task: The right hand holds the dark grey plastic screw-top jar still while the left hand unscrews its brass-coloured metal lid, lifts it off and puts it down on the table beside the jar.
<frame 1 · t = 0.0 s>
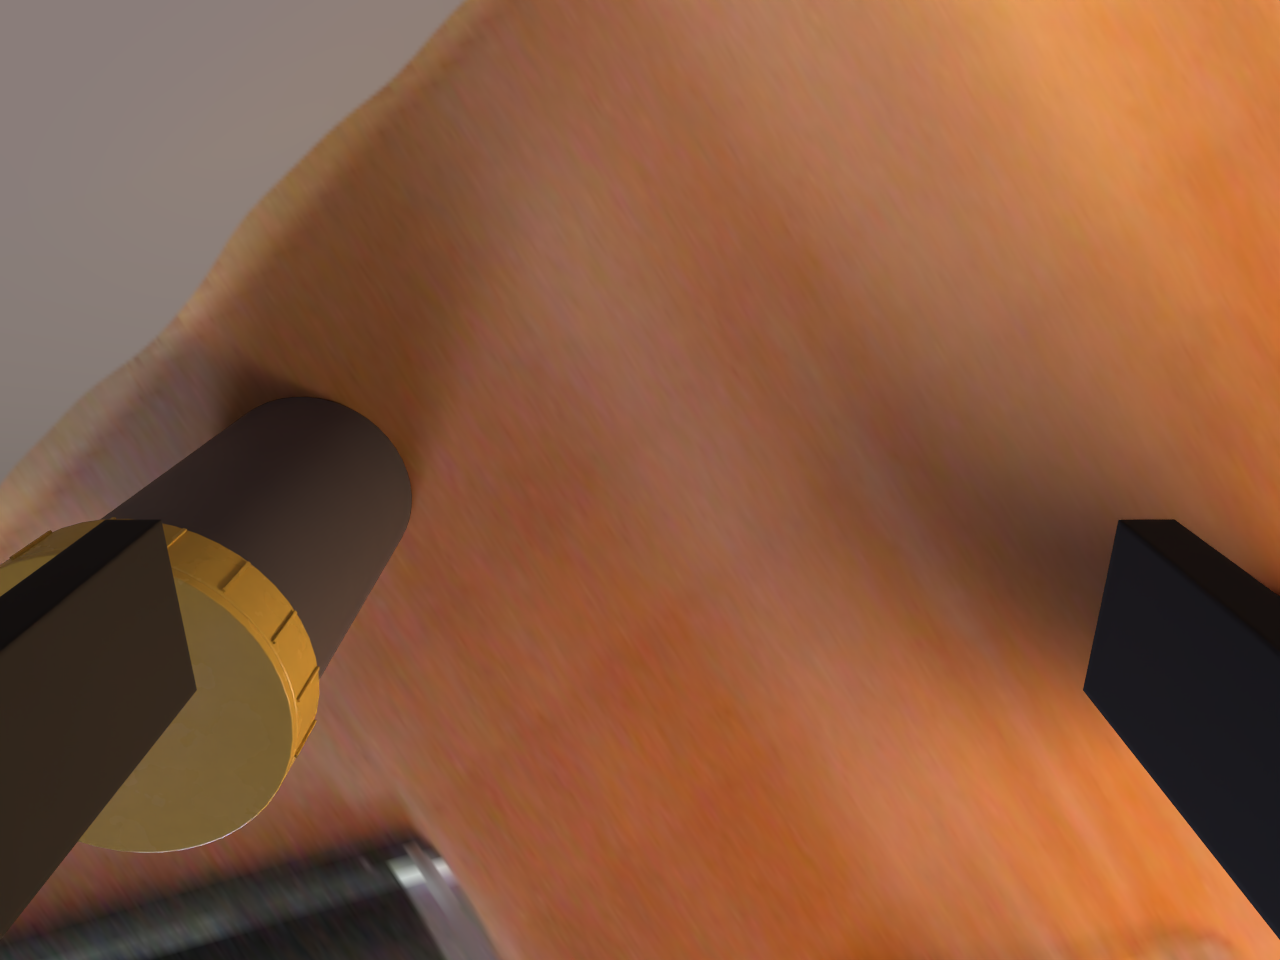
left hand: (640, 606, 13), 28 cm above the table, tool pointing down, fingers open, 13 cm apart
screw-top jar: (314, 490, 42), on the table
lid: (120, 706, 26), point 17 cm above the table, screwed on, not yet turned
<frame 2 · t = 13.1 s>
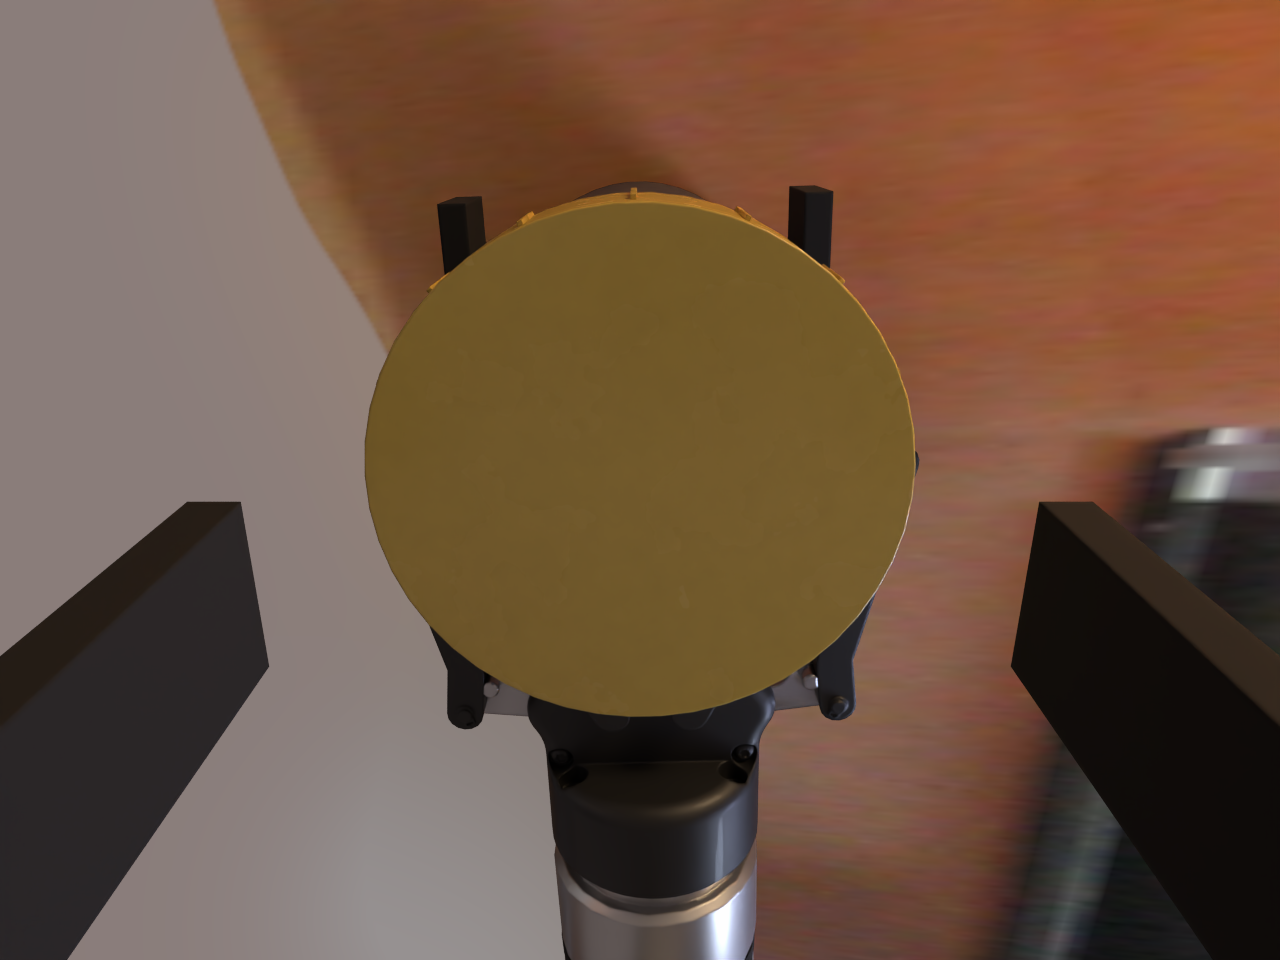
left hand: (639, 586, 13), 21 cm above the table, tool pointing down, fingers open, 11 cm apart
screw-top jar: (640, 312, 33), on the table, touching right hand
lid: (639, 480, 17), point 17 cm above the table, screwed on, not yet turned
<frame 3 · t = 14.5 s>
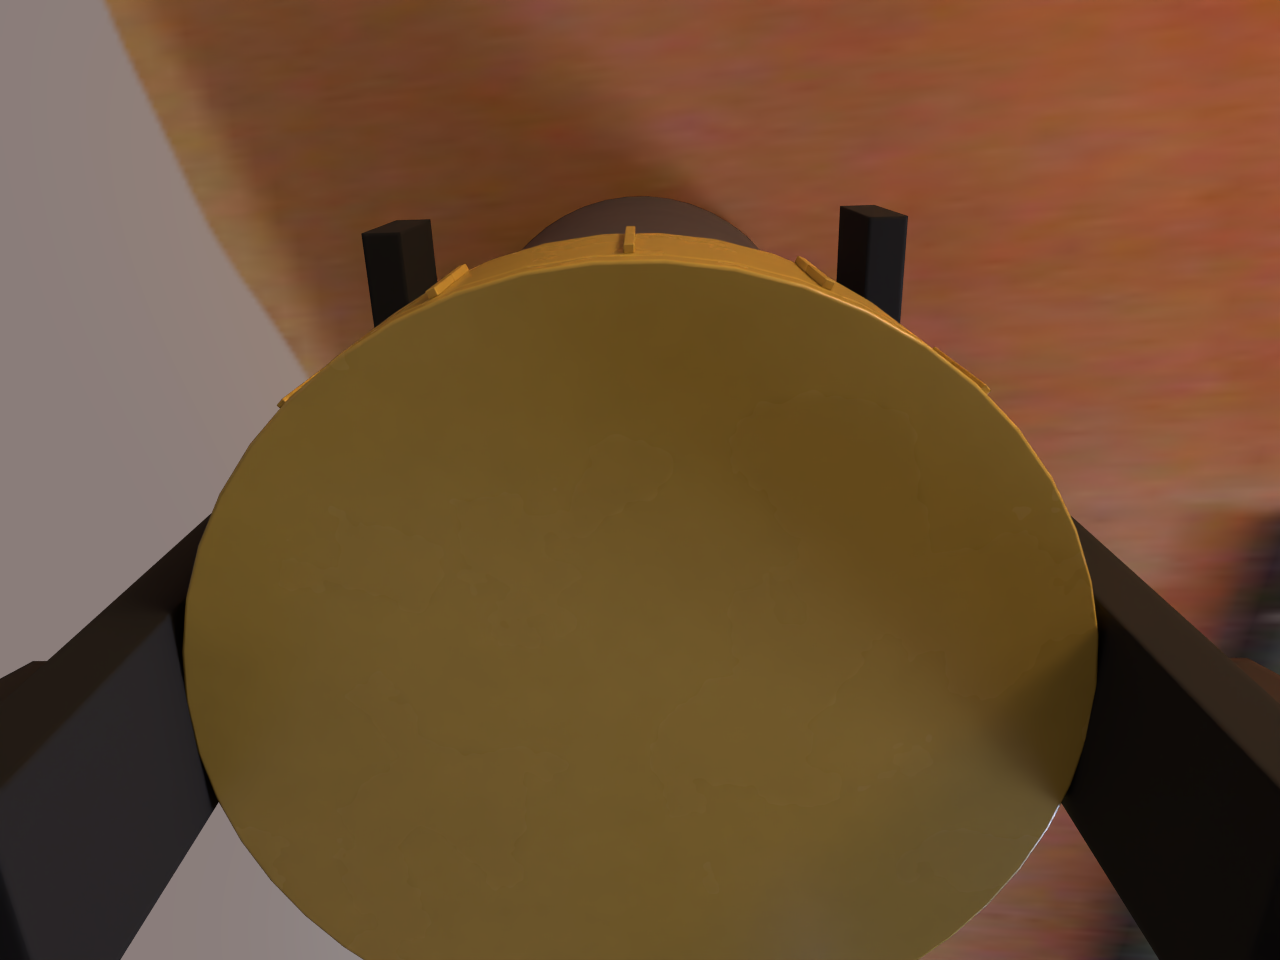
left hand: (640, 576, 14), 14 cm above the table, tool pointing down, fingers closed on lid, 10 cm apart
screw-top jar: (641, 359, 26), on the table, touching right hand
lid: (640, 702, 11), point 17 cm above the table, screwed on, not yet turned, touching left hand
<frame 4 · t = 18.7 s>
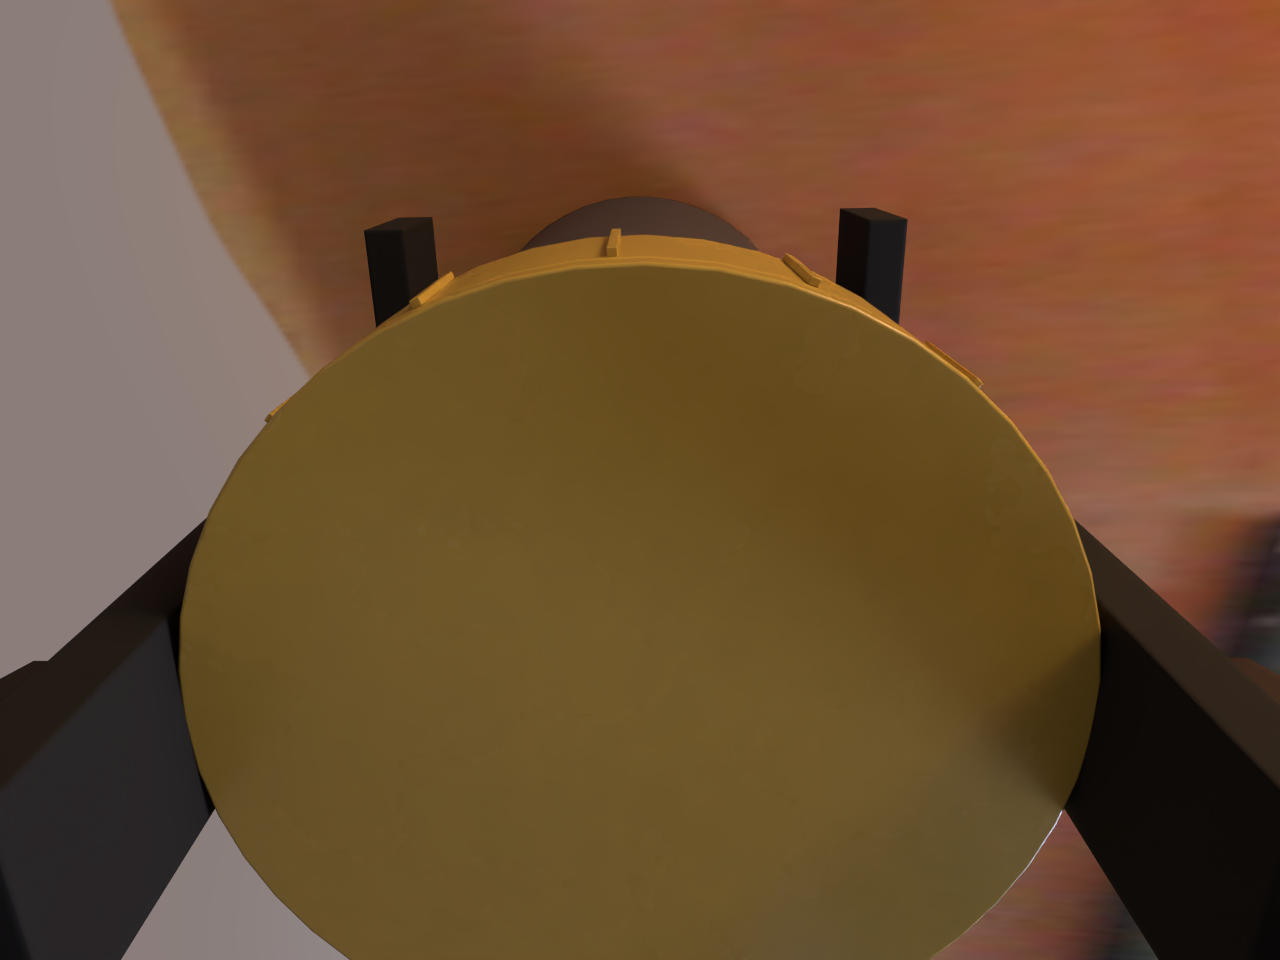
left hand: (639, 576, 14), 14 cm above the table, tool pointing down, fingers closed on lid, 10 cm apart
screw-top jar: (639, 358, 26), on the table, touching right hand
lid: (639, 708, 11), point 17 cm above the table, turned 137° so far, risen 0.2 cm, still on its thread, touching left hand
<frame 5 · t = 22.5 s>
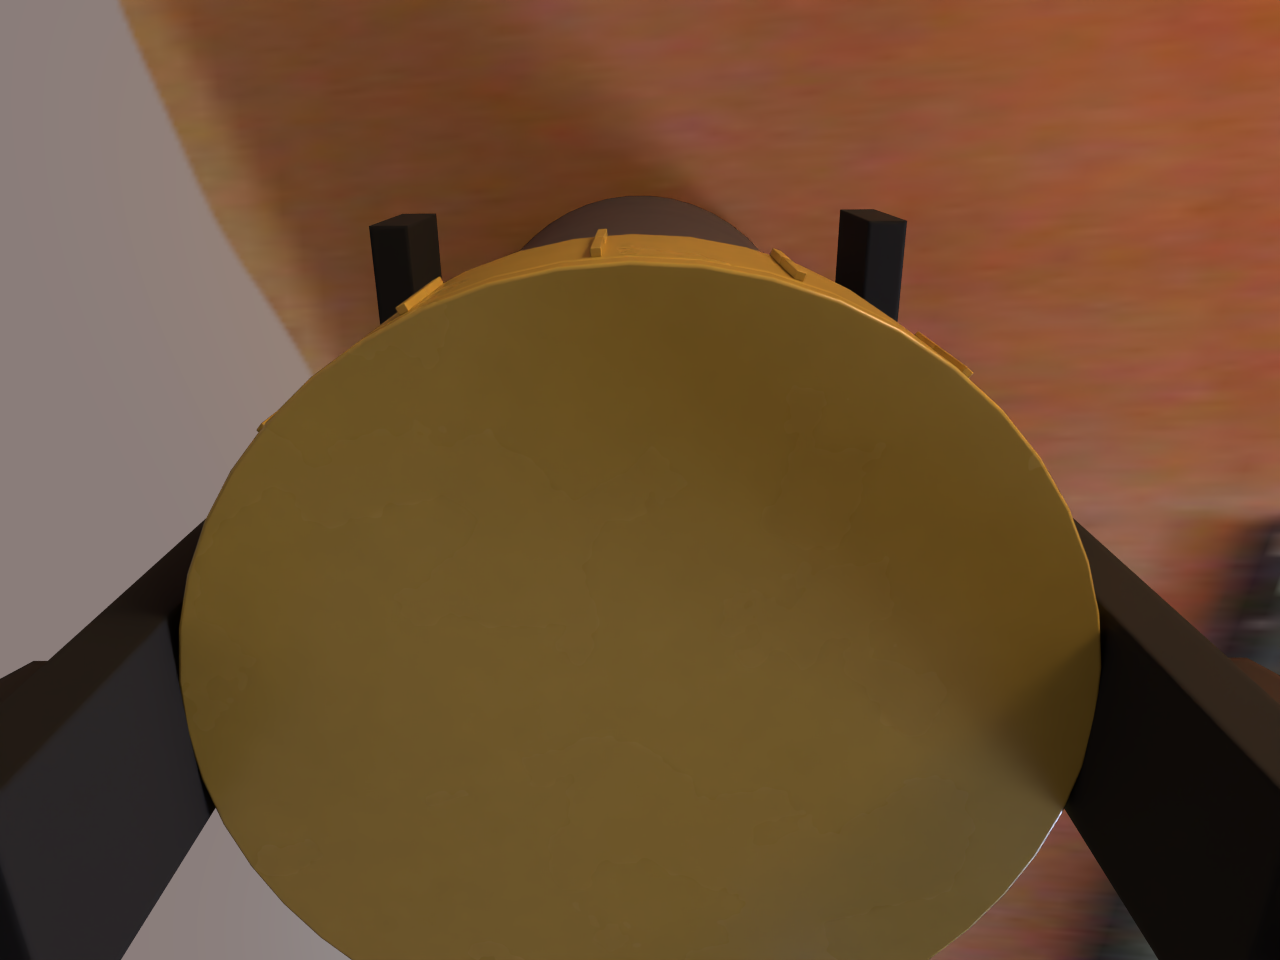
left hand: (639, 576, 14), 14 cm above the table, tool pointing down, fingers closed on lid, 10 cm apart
screw-top jar: (639, 356, 27), on the table, touching right hand
lid: (639, 707, 11), point 17 cm above the table, turned 275° so far, risen 0.4 cm, still on its thread, touching left hand
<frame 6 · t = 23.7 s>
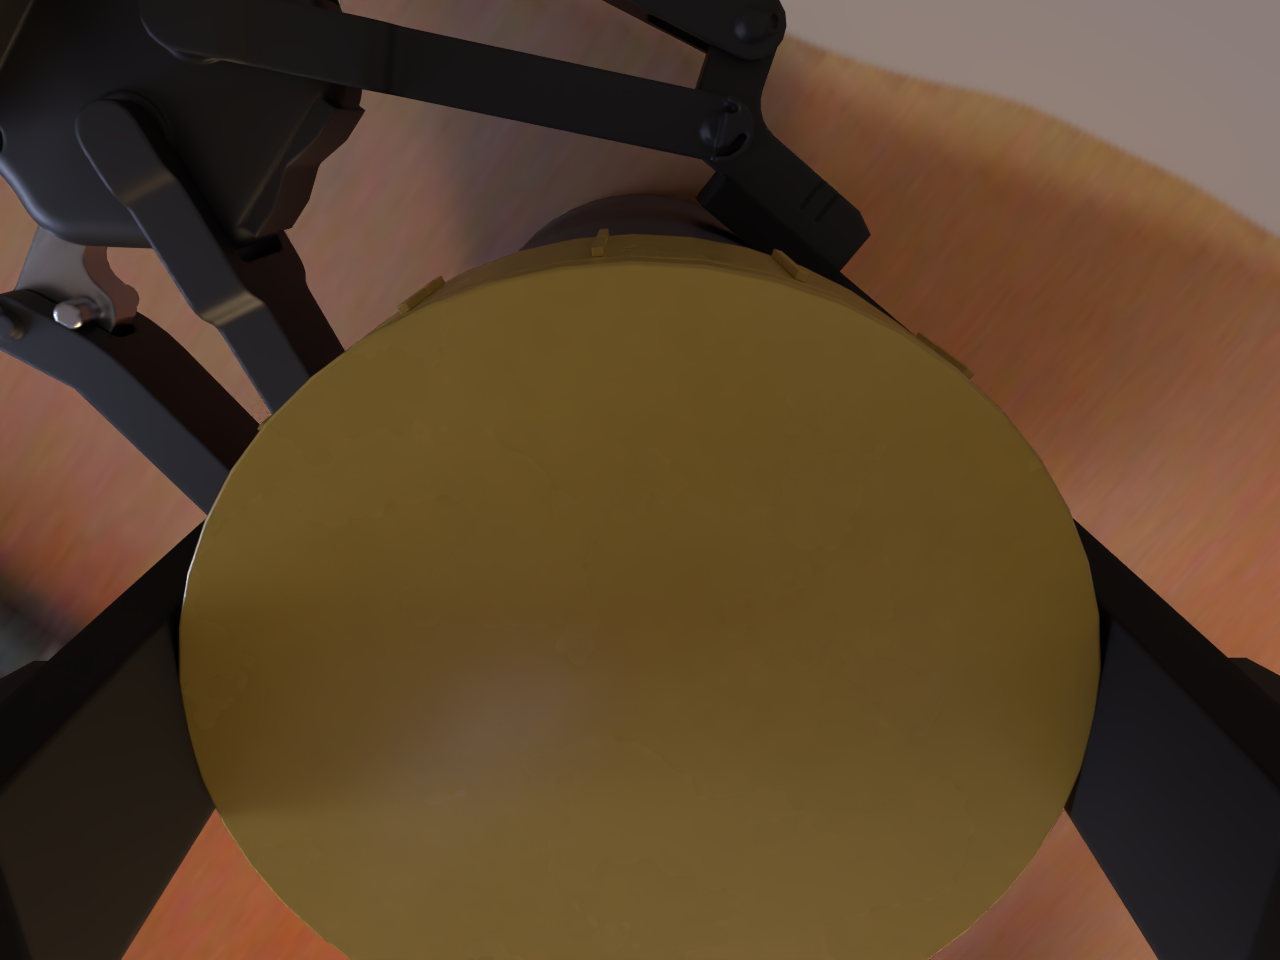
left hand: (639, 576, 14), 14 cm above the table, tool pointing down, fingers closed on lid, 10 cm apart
right hand: (786, 530, 22), fingers closed on screw-top jar, 9 cm apart
screw-top jar: (639, 354, 27), on the table, touching right hand
lid: (639, 707, 11), point 17 cm above the table, off its thread, touching left hand
when the left hand's fingers open (0 cm above the table, at t = 29.7 s): lid drops 2 cm, point 2 cm above the table.
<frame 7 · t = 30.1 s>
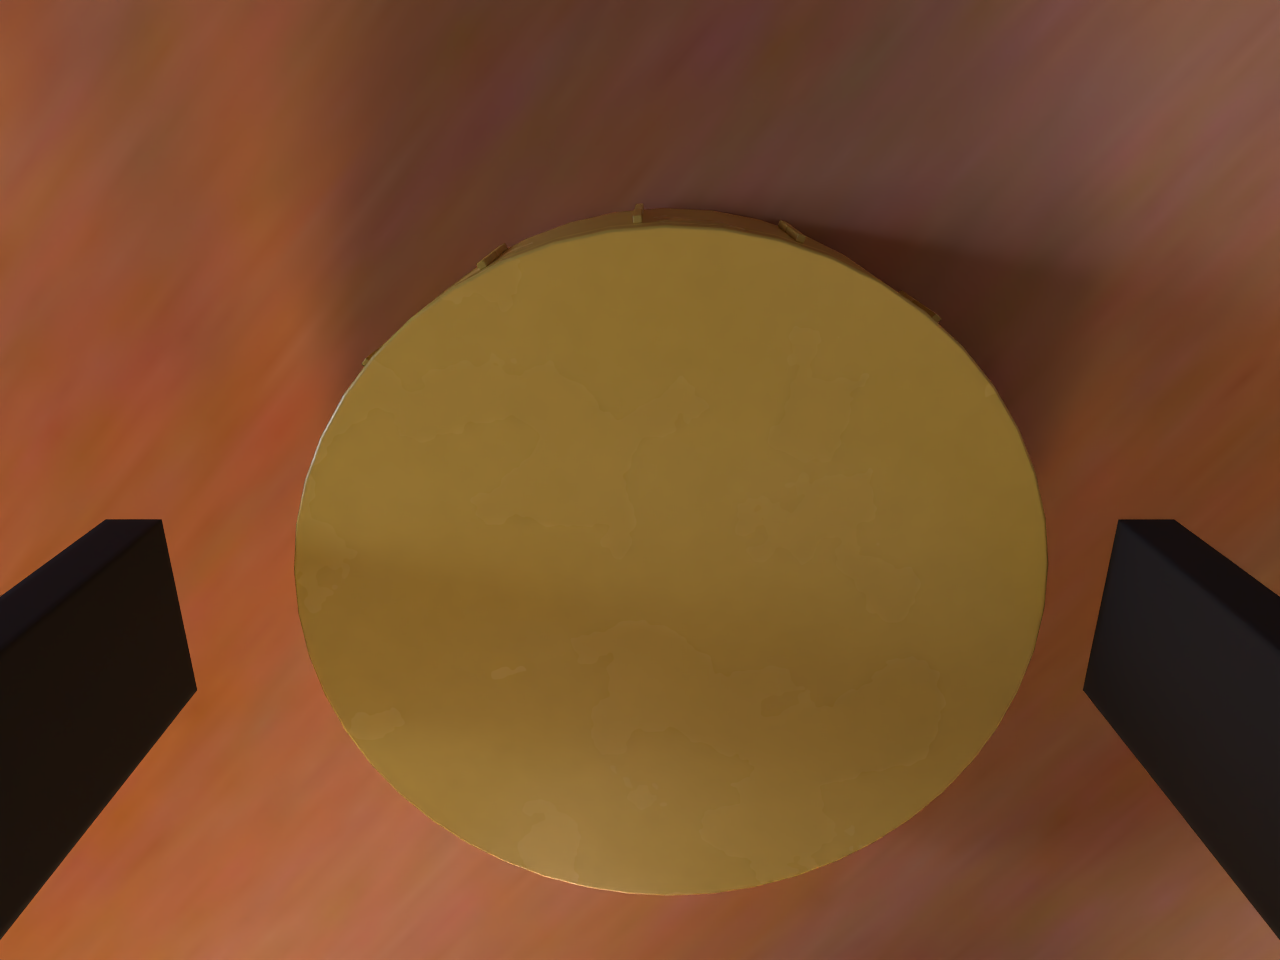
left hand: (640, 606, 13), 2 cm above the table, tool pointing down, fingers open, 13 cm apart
lid: (667, 599, 13), point 2 cm above the table, off its thread
when the right hand's fingers open (6 cm above the table, at t = 30.7 s): screw-top jar stays where it is, on the table.
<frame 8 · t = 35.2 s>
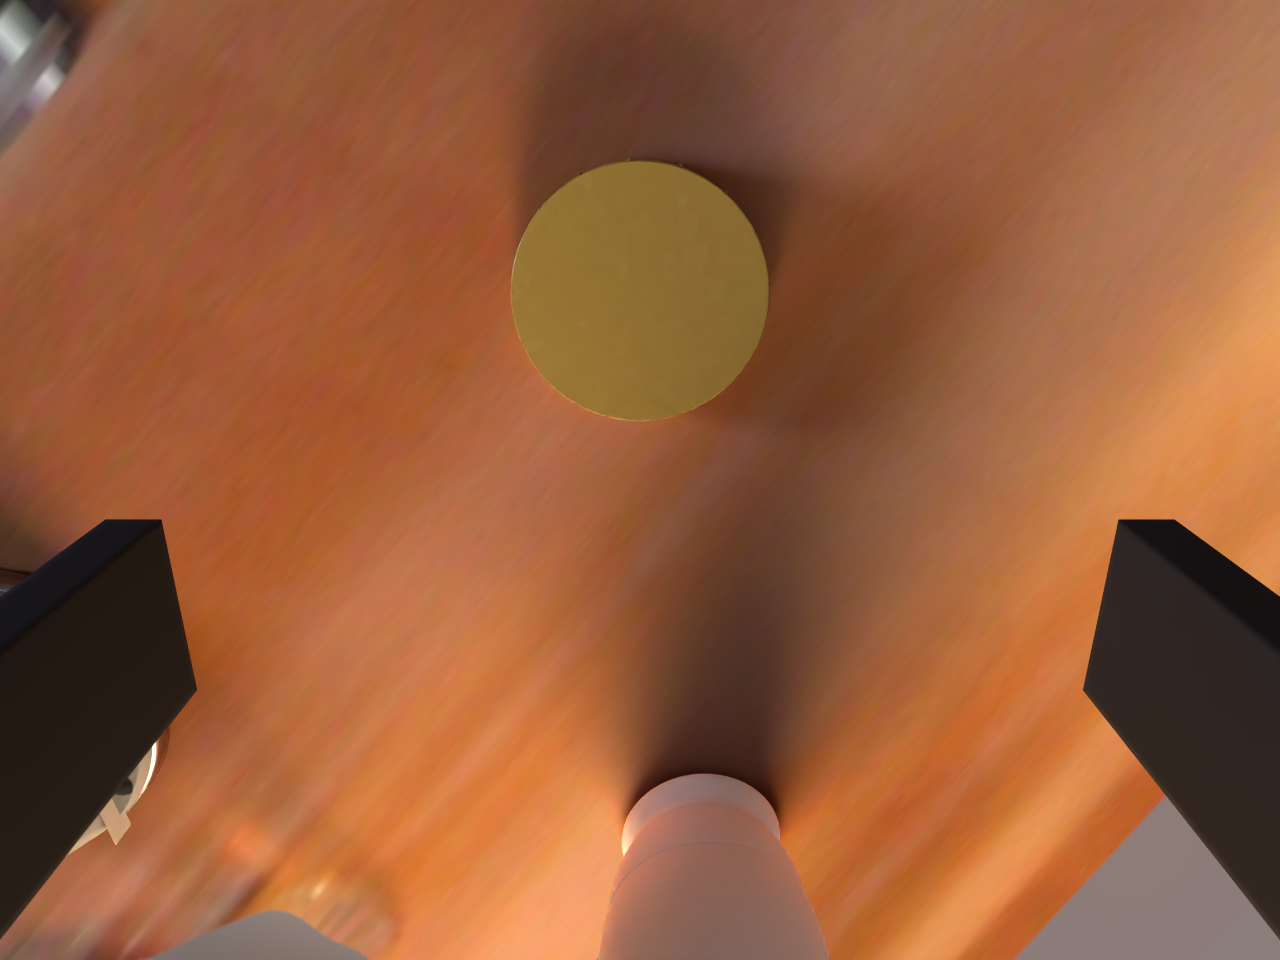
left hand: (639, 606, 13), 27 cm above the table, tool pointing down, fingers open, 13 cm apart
jar: (700, 831, 49), on the table
lid: (639, 296, 36), point 2 cm above the table, off its thread
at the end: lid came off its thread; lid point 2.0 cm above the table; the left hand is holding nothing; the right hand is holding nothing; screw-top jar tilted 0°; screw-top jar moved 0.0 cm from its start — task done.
